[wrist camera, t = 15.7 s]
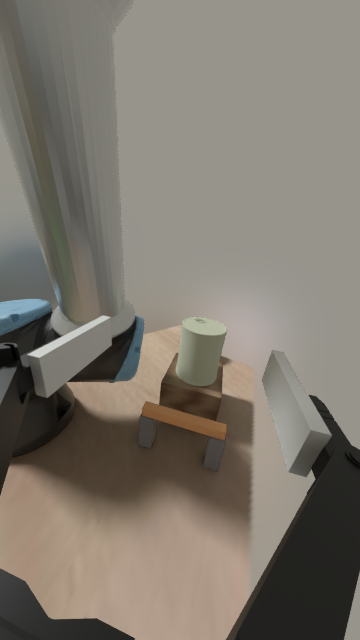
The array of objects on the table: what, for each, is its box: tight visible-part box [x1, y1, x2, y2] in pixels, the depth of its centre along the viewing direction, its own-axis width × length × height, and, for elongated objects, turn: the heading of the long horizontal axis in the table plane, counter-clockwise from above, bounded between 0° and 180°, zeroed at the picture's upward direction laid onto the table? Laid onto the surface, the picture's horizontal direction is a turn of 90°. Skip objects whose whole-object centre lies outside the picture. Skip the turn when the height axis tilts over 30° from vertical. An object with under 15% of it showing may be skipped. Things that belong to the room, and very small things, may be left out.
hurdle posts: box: [138, 414, 225, 471], centre depth 32 cm, size 14×2×7 cm, turn 76°
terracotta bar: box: [142, 401, 226, 440], centre depth 31 cm, size 14×2×2 cm, turn 76°
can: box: [176, 317, 227, 386], centre depth 39 cm, size 9×9×12 cm
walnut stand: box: [159, 353, 223, 421], centre depth 43 cm, size 12×12×9 cm
